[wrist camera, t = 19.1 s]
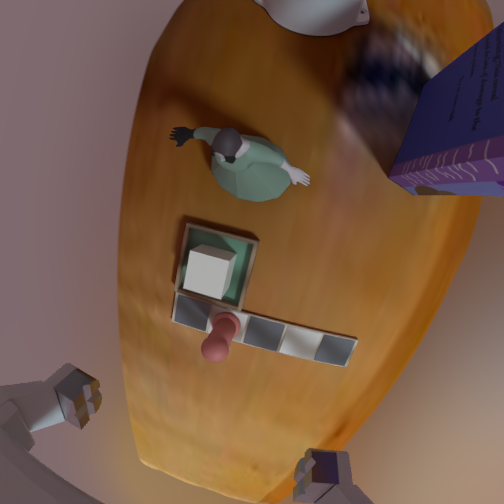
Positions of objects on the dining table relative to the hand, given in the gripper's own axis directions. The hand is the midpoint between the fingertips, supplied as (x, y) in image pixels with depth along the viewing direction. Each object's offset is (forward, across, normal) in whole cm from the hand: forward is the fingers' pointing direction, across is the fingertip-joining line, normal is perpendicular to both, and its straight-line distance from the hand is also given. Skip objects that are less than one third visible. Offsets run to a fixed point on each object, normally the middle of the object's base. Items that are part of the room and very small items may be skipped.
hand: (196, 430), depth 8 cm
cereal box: (+31, -18, -22) cm, 42 cm away
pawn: (+29, +3, +12) cm, 31 cm away
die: (+30, +6, +4) cm, 30 cm away
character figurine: (+31, +5, -10) cm, 33 cm away
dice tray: (+30, +6, +4) cm, 31 cm away
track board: (+30, -3, +12) cm, 32 cm away
